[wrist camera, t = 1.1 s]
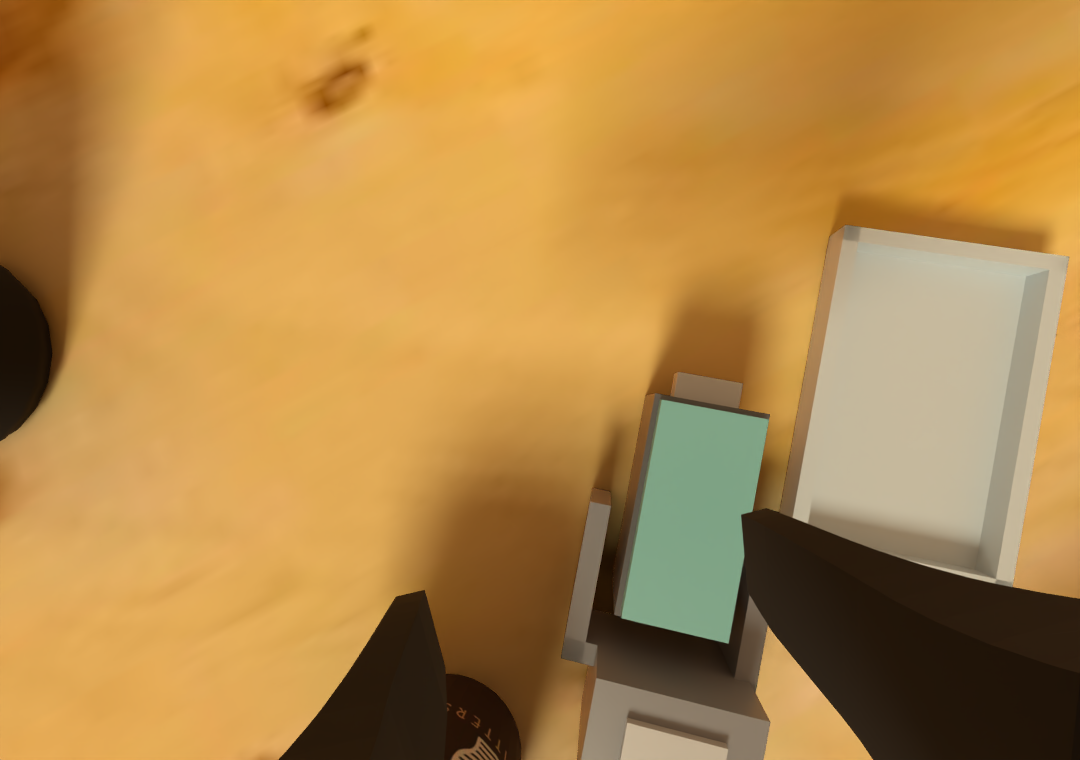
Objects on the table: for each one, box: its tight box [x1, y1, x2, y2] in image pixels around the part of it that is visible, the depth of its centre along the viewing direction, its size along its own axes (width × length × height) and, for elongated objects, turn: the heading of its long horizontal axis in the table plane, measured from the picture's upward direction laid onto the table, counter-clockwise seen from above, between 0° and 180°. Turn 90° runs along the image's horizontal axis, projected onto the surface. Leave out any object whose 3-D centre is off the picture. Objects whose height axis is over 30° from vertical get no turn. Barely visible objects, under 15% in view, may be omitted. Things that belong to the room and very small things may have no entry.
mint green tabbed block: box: [612, 372, 770, 644], centre depth 21 cm, size 4×9×6 cm, turn 169°
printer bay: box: [561, 488, 770, 760], centre depth 21 cm, size 7×9×6 cm
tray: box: [780, 225, 1069, 587], centre depth 22 cm, size 8×13×2 cm, turn 169°
